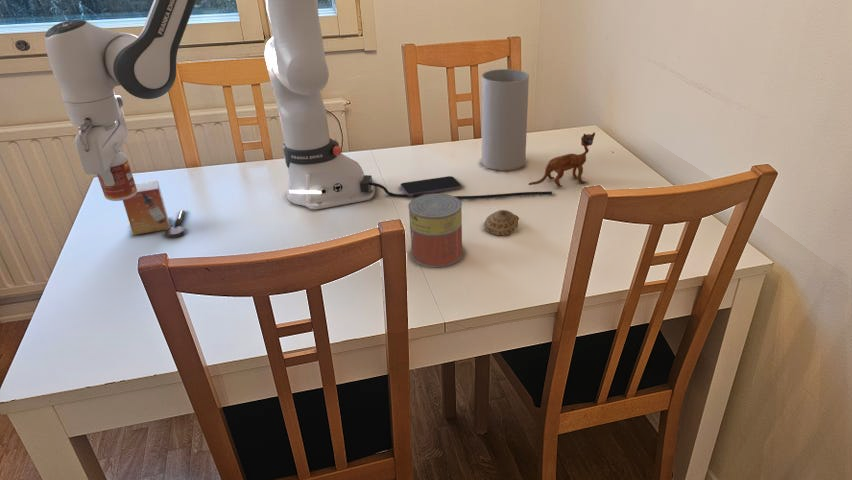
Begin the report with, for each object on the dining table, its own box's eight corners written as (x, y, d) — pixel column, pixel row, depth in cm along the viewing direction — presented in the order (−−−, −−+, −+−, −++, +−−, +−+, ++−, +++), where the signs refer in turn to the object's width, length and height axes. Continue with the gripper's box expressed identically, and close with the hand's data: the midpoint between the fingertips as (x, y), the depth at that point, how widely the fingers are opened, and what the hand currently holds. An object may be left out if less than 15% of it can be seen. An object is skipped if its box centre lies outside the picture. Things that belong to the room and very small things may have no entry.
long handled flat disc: (174, 213, 159) (173, 209, 158) (191, 211, 160) (190, 208, 159) (164, 238, 148) (163, 235, 148) (183, 237, 149) (182, 233, 148)
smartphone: (462, 186, 170) (408, 194, 165) (462, 189, 171) (408, 198, 166) (452, 175, 176) (399, 183, 171) (452, 179, 177) (399, 187, 171)
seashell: (524, 211, 155) (516, 213, 147) (520, 234, 156) (512, 237, 148) (491, 206, 157) (482, 208, 149) (488, 229, 158) (479, 232, 150)
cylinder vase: (526, 172, 180) (530, 82, 167) (481, 171, 180) (481, 82, 167) (524, 154, 190) (527, 69, 177) (482, 154, 191) (482, 69, 177)
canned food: (414, 240, 147) (411, 193, 141) (464, 241, 147) (463, 193, 141) (408, 266, 138) (405, 216, 131) (461, 267, 137) (460, 217, 131)
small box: (133, 236, 149) (119, 194, 144) (132, 225, 153) (119, 185, 148) (170, 229, 152) (158, 188, 146) (169, 219, 156) (157, 179, 151)
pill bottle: (140, 197, 133) (124, 146, 127) (107, 204, 130) (89, 153, 125) (135, 186, 138) (119, 137, 132) (103, 193, 135) (85, 143, 129)
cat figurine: (533, 193, 168) (535, 143, 161) (523, 183, 173) (525, 134, 166) (594, 183, 173) (599, 135, 166) (583, 174, 178) (587, 126, 171)
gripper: (96, 127, 117) (120, 197, 124) (123, 94, 133) (142, 157, 141) (58, 130, 115) (84, 200, 123) (90, 96, 132) (111, 159, 140)
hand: (115, 176), depth 132 cm, fingers closed on pill bottle, 6 cm apart
